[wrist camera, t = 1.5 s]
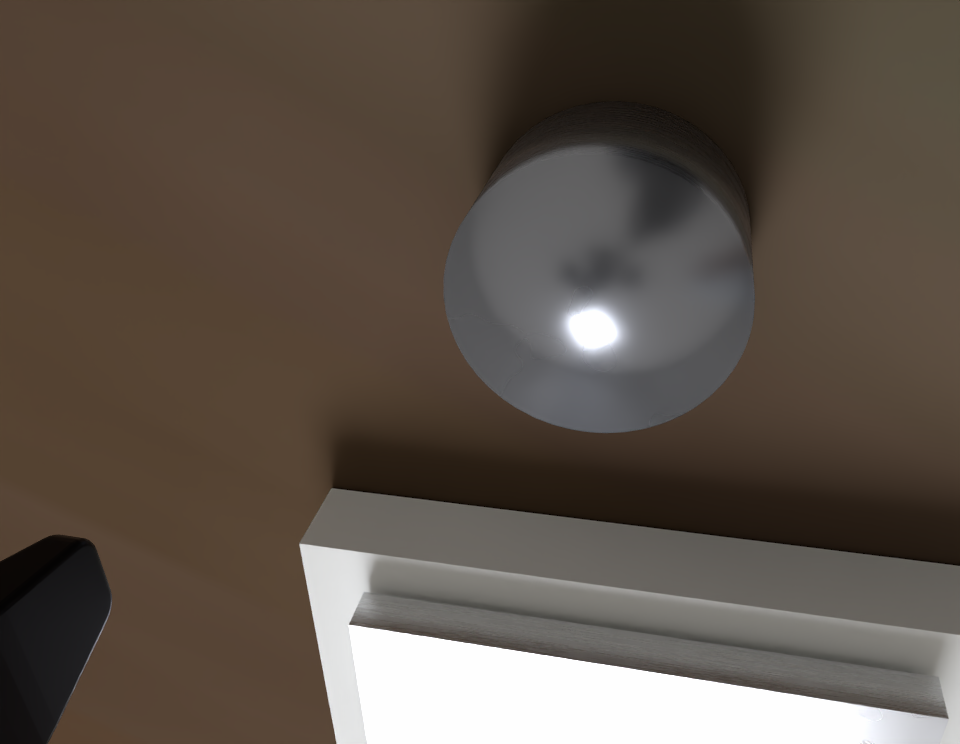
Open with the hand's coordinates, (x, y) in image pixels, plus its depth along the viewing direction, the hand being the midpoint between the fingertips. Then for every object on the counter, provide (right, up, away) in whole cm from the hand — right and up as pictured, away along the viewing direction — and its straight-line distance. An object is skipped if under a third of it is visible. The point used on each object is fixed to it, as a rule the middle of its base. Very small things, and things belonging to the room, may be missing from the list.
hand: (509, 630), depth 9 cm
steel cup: (+2, +5, +8) cm, 10 cm away
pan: (+3, -8, +13) cm, 16 cm away
